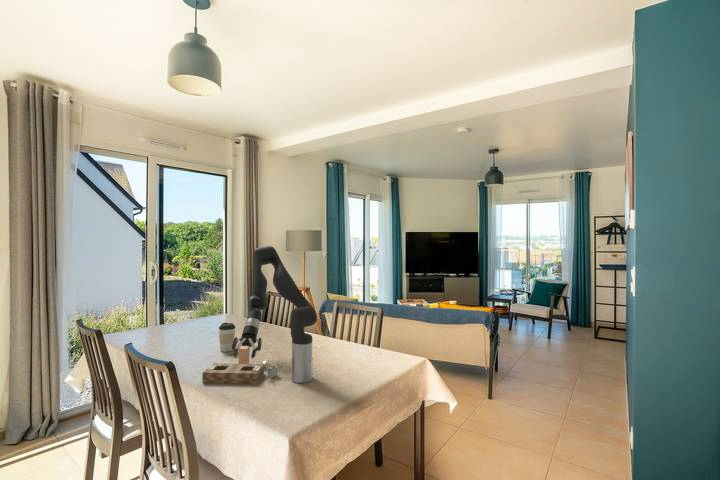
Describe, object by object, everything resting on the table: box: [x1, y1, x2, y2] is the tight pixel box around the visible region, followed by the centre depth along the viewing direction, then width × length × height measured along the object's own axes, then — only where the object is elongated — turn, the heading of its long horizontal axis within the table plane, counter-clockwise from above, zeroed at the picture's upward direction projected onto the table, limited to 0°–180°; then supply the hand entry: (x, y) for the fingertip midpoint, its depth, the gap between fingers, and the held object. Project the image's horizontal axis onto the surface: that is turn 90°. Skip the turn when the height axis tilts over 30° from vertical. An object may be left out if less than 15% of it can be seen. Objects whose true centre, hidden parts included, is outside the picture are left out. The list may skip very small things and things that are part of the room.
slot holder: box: [201, 362, 265, 385], centre depth 169 cm, size 24×12×5 cm, turn 90°
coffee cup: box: [218, 322, 236, 353], centre depth 211 cm, size 9×9×15 cm
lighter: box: [262, 360, 279, 379], centre depth 171 cm, size 7×2×8 cm, turn 133°
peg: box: [238, 346, 251, 364], centre depth 183 cm, size 4×4×10 cm
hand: (243, 357), depth 182 cm, fingers open, 8 cm apart
